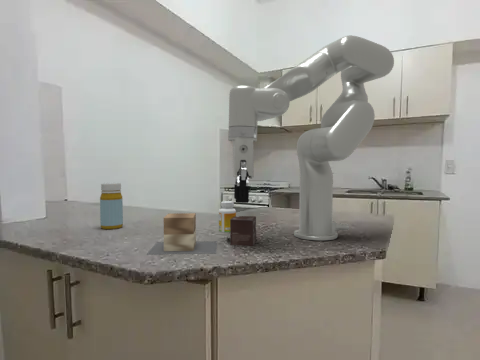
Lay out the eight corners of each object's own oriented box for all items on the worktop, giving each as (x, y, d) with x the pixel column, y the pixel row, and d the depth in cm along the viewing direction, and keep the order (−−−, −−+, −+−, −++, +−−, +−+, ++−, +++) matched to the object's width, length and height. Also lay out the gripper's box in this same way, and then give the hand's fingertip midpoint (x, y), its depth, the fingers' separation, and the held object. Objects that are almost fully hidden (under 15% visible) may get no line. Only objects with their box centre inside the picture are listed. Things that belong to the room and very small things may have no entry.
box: (252, 248, 81) (253, 219, 81) (229, 247, 82) (229, 219, 82) (256, 242, 87) (256, 216, 87) (234, 241, 88) (234, 215, 88)
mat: (217, 243, 86) (217, 241, 86) (216, 255, 74) (216, 253, 74) (157, 244, 86) (157, 241, 86) (146, 256, 74) (146, 254, 74)
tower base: (195, 243, 84) (195, 228, 83) (193, 250, 77) (193, 234, 76) (168, 244, 83) (168, 228, 83) (163, 251, 76) (163, 234, 76)
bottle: (101, 226, 111) (101, 183, 110) (123, 225, 113) (122, 182, 112) (99, 230, 104) (98, 184, 103) (122, 229, 106) (121, 183, 105)
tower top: (195, 228, 83) (195, 213, 83) (193, 234, 76) (193, 217, 76) (168, 228, 83) (168, 213, 83) (163, 234, 76) (163, 217, 76)
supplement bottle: (239, 231, 102) (239, 201, 101) (230, 235, 97) (230, 203, 96) (225, 230, 104) (224, 200, 104) (215, 233, 100) (215, 202, 99)
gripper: (261, 131, 75) (258, 204, 76) (253, 138, 92) (252, 198, 93) (229, 130, 75) (227, 203, 75) (227, 138, 92) (226, 197, 92)
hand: (240, 200), depth 84 cm, fingers open, 9 cm apart
